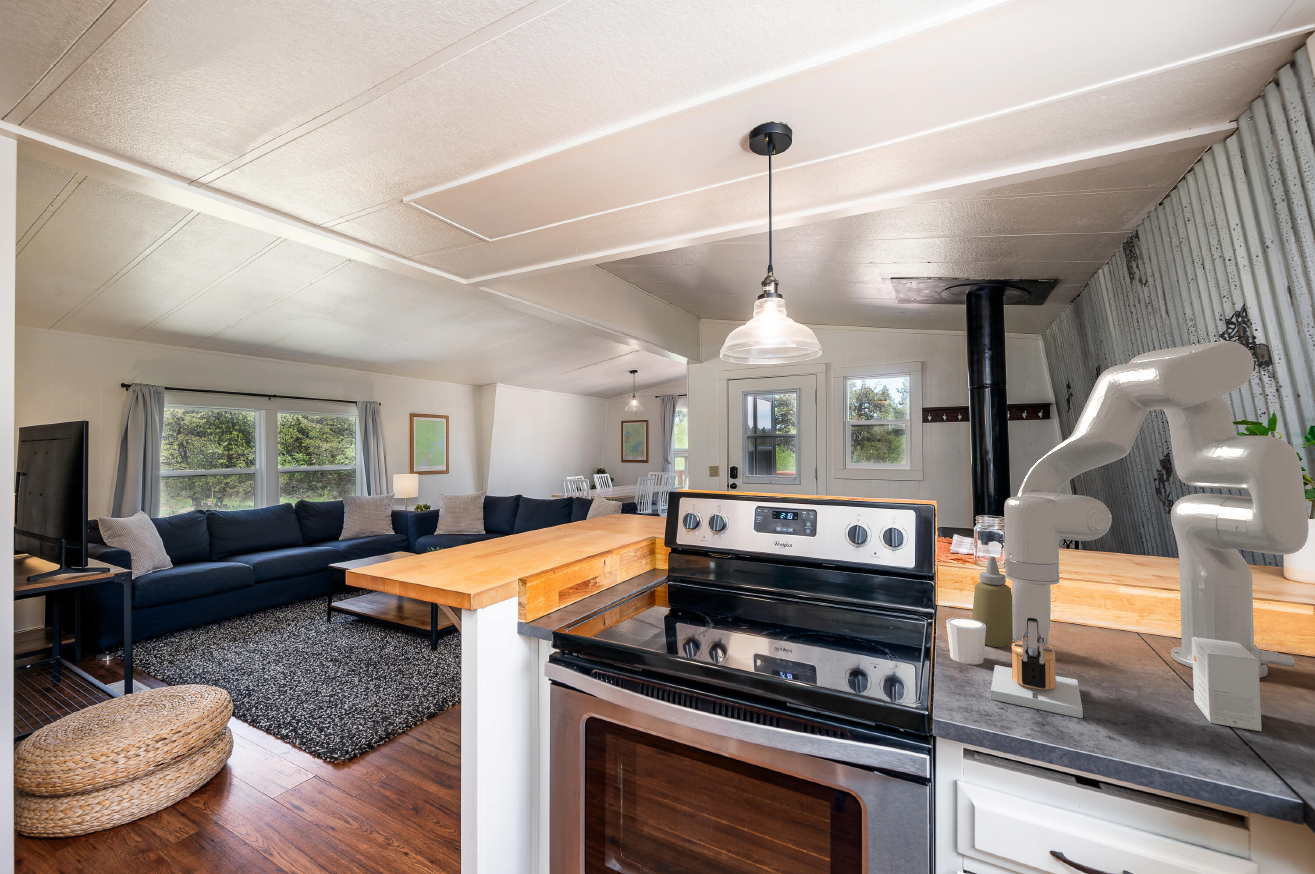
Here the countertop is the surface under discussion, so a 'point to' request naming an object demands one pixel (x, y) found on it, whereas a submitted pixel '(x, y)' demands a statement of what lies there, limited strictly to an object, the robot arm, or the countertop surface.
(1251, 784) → the countertop surface
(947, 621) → the white cup
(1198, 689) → the small box
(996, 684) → the knob base plate
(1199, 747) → the countertop surface
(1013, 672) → the cap
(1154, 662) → the countertop surface
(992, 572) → the squeeze bottle
